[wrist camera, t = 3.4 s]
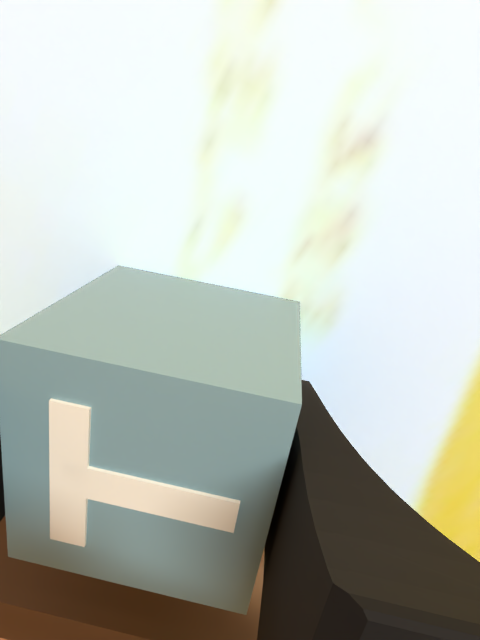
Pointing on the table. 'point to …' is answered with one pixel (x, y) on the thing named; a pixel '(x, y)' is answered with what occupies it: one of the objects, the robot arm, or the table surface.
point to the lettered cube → (150, 433)
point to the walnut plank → (107, 608)
